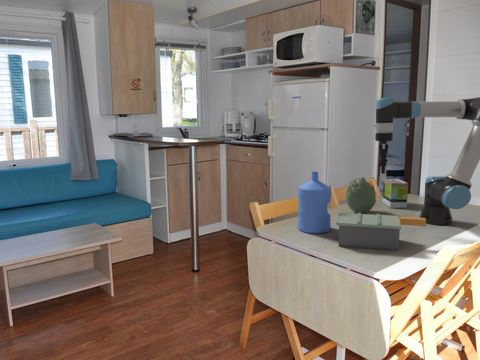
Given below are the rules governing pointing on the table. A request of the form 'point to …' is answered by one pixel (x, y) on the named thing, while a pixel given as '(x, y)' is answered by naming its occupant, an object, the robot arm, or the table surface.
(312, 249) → the table surface
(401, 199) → the tea box
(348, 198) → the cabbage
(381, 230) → the parts tub
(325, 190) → the water jug
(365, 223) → the lid
